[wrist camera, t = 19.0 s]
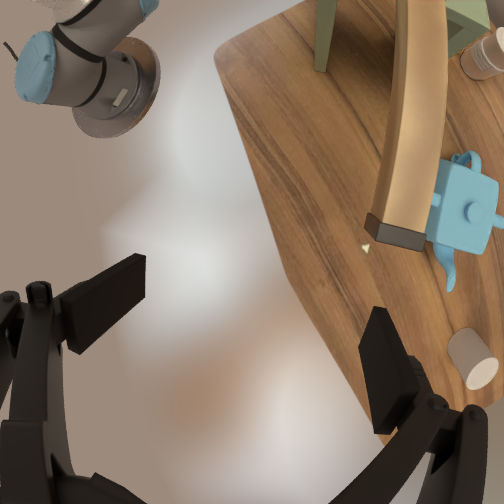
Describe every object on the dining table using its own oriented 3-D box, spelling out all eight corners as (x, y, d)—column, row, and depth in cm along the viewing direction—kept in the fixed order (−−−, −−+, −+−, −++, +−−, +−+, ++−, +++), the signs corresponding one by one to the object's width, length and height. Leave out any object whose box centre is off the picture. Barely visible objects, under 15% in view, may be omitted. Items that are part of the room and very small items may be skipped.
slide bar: (363, 228, 20) (374, 241, 17) (392, -29, 13) (401, -52, 9) (405, 238, 20) (422, 252, 16) (428, -15, 13) (442, -36, 9)
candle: (457, 73, 37) (497, 52, 22) (458, 45, 34) (494, 19, 20) (484, 88, 36) (527, 73, 22) (485, 60, 34) (524, 40, 19)
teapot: (385, 177, 46) (411, 182, 33) (455, 141, 41) (494, 138, 28) (422, 266, 49) (450, 296, 36) (485, 229, 44) (523, 248, 31)
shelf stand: (313, 70, 43) (316, -40, 13) (321, 17, 39) (324, -103, 9) (402, 92, 41) (498, 24, 11) (405, 38, 37) (478, -53, 7)
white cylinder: (470, 355, 51) (490, 385, 40) (443, 359, 53) (461, 392, 42) (479, 325, 49) (503, 354, 38) (451, 329, 51) (473, 360, 39)
